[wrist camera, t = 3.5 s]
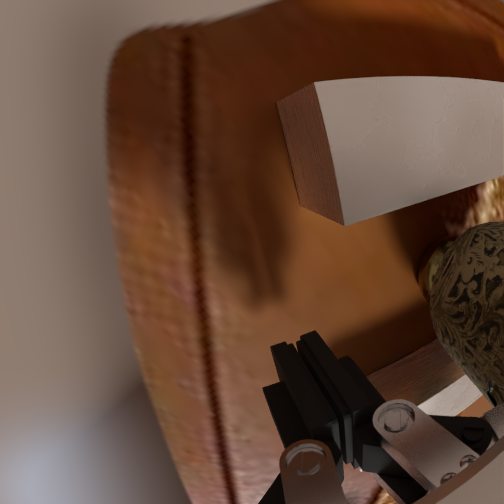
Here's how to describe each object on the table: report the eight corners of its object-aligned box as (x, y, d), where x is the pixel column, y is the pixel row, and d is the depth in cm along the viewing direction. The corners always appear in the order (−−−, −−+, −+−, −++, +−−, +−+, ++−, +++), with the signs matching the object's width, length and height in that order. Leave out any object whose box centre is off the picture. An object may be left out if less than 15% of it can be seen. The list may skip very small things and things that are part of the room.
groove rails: (507, 91, 12) (549, 90, 9) (503, 329, 18) (532, 348, 15) (275, 102, 10) (314, 82, 7) (337, 431, 16) (360, 471, 13)
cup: (481, 283, 16) (575, 337, 8) (398, 353, 15) (489, 444, 8) (466, 172, 13) (596, 203, 6) (364, 240, 13) (517, 327, 5)
